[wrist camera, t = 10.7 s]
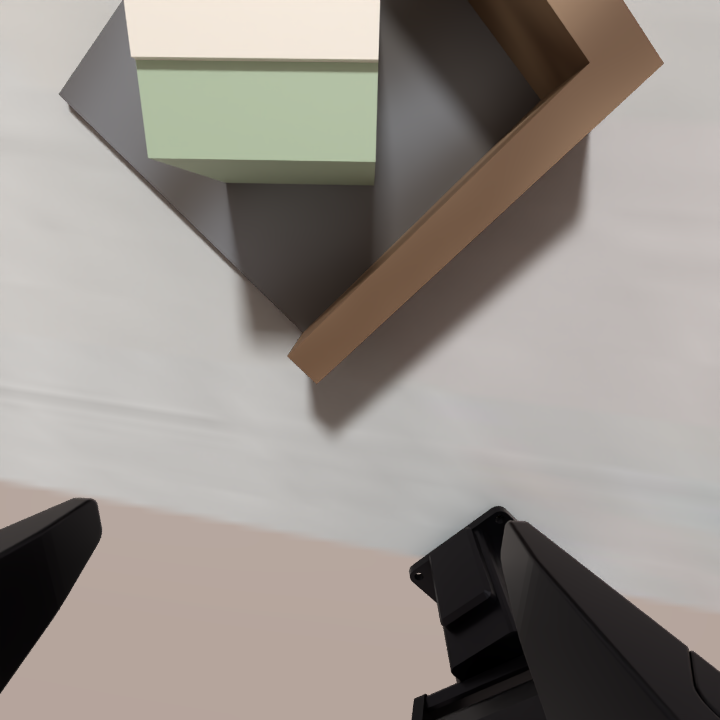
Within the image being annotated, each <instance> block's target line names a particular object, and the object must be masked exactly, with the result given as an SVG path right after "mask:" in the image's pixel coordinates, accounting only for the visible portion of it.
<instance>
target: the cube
mask: <svg viewBox="0 0 720 720" xmlns="http://www.w3.org/2000/svg"><path fill="white" fill-rule="evenodd" d="M124 7H125V14H126V22H127V30H128V37H129V45H130V53H131V57H132V58H134V59H135V60H136V67H137V75H138V83H139V91H140V99H141V107H142V114H143V122H144V130H145V138H146V146H147V154H148V158H149V159H152V160H156V161H159V162H162V163H165V164H168V165H171V166H174V167H178V168H181V169H184V170H187V171H190V172H193V173H196V174H200V175H203V176H206V177H209V178H212V179H215V180H218V181H222V182H225V183H265V184H321V185H374V179H375V162H376V126H377V90H378V56H379V20H380V0H124Z"/></svg>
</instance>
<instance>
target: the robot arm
mask: <svg viewBox="0 0 720 720" xmlns="http://www.w3.org/2000/svg"><path fill="white" fill-rule="evenodd" d="M499 515H502V516H501V517H500V518H496V517H497V516H499ZM101 535H102V526H101V522H100V515H99V510H98V505H97V502H96V501H95V500H94V499H91V498H73V499H70V500H68V501H66V502H64V503H61V504H59V505H56V506H54V507H52V508H49V509H47V510H45V511H42V512H40V513H38V514H35V515H33V516H31V517H28V518H26V519H24V520H21V521H19V522H17V523H15V524H12V525H10V526H7V527H5V528H3V529H0V693H1V692H2V691H3V689H4V687H5V686H6V685H7V683H8V682H9V681H10V679H11V678H12V676H13V675H14V674H15V672H16V671H17V669H18V668H19V666H20V665H21V664H22V662H23V661H24V659H25V658H26V657H27V655H28V654H29V652H30V651H31V649H32V648H33V647H34V645H35V644H36V642H37V641H38V639H39V638H40V637H41V635H42V634H43V632H44V631H45V629H46V628H47V627H48V625H49V624H50V622H51V621H52V619H53V618H54V616H55V615H56V613H57V612H58V610H59V609H60V607H61V606H62V604H63V602H64V601H65V599H66V598H67V596H68V594H69V593H70V591H71V589H72V587H73V586H74V584H75V582H76V581H77V579H78V577H79V575H80V574H81V572H82V570H83V568H84V567H85V565H86V563H87V562H88V560H89V558H90V557H91V555H92V553H93V551H94V550H95V548H96V546H97V545H98V543H99V541H100V538H101ZM409 573H410V579H411V581H412V582H413V583H415V584H416V585H417V586H418V587H419V588H420V589H422V590H423V591H424V592H425V593H426V594H427V595H428V596H430V597H431V598H432V599H433V600H434V601H435V602H436V603H437V605H438V611H439V617H440V622H441V625H442V626H443V629H444V635H445V640H446V646H447V651H448V657H449V662H450V668H451V673H452V674H453V675H454V676H455V677H456V681H457V683H456V684H454V685H451V686H449V687H447V688H445V689H442V690H440V691H438V692H435V693H433V694H431V695H427V694H424V695H422V696H420V697H417V698H415V699H414V704H413V713H412V720H720V671H718V670H717V669H716V668H714V667H713V666H712V665H711V664H709V663H708V662H707V661H705V660H704V659H703V658H702V657H700V656H699V655H698V654H696V653H695V652H694V651H690V652H689V649H688V647H687V646H686V645H685V644H683V643H682V642H681V641H679V640H678V639H677V638H676V637H674V636H673V635H672V634H670V633H669V632H668V631H667V630H665V629H664V628H663V627H662V626H660V625H659V624H658V623H657V622H655V621H654V620H653V619H651V618H650V617H649V616H648V615H646V614H645V613H644V612H642V611H641V610H640V609H639V608H637V607H636V606H635V605H633V604H632V603H631V602H630V601H628V600H627V599H626V598H624V597H623V596H622V595H621V594H619V593H618V592H617V591H615V590H614V589H613V588H612V587H610V586H609V585H608V584H606V583H605V582H604V581H603V580H601V579H600V578H599V577H597V576H596V575H595V574H594V573H592V572H591V571H590V570H588V569H587V568H586V567H585V566H583V565H582V564H581V563H579V562H578V561H577V560H576V559H574V558H573V557H572V556H571V555H569V554H568V553H567V552H565V551H564V550H563V549H562V548H560V547H559V546H558V545H556V544H555V543H554V542H553V541H551V540H550V539H549V538H547V537H546V536H545V535H544V534H542V533H541V532H540V531H538V530H537V529H536V528H535V527H533V526H532V525H531V524H529V523H528V522H526V521H517V520H516V519H515V518H514V517H513V516H512V515H511V514H510V513H509V512H508V511H507V510H506V509H505V508H504V507H501V506H496V507H493V508H491V509H490V510H489V511H487V512H486V513H484V514H483V515H482V516H480V517H479V518H477V519H476V520H475V521H473V522H472V523H471V524H469V525H468V526H466V527H465V528H464V529H462V530H461V531H459V532H458V533H457V534H455V535H454V536H452V537H451V538H450V539H448V540H447V541H445V542H444V543H443V544H441V545H440V546H439V547H437V548H436V549H434V550H433V551H432V552H430V553H429V554H427V555H426V556H425V557H423V558H422V559H420V560H419V561H418V562H416V563H415V564H414V565H413V566H411V567H410V570H409ZM417 573H421V574H417Z"/></svg>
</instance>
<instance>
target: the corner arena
mask: <svg viewBox="0 0 720 720" xmlns="http://www.w3.org/2000/svg"><path fill="white" fill-rule="evenodd" d="M663 64H664V63H663V61H662V60H661V58H660V57H659V55H658V53H657V52H656V50H655V49H654V47H653V46H652V44H651V43H650V41H649V40H648V38H647V36H646V35H645V33H644V32H643V30H642V29H641V27H640V26H639V24H638V23H637V21H636V19H635V18H634V16H633V15H632V13H631V12H630V10H629V9H628V7H627V6H626V4H625V3H624V1H623V0H380V20H379V56H378V90H377V126H376V162H375V179H374V185H321V184H265V183H225V182H222V181H218V180H215V179H212V178H209V177H206V176H203V175H200V174H196V173H193V172H190V171H187V170H184V169H181V168H178V167H174V166H171V165H168V164H165V163H162V162H159V161H156V160H152V159H149V158H148V154H147V146H146V138H145V130H144V122H143V114H142V107H141V99H140V91H139V83H138V75H137V67H136V60H135V59H134V58H132V57H131V53H130V45H129V37H128V30H127V22H126V14H125V7H124V0H122V2H121V3H120V5H119V6H118V8H117V9H116V11H115V12H114V14H113V15H112V17H111V18H110V20H109V21H108V22H107V24H106V25H105V27H104V28H103V30H102V31H101V33H100V34H99V36H98V37H97V39H96V40H95V42H94V43H93V45H92V46H91V48H90V49H89V50H88V52H87V53H86V55H85V56H84V58H83V59H82V61H81V62H80V64H79V65H78V67H77V68H76V70H75V71H74V73H73V74H72V75H71V77H70V78H69V80H68V81H67V83H66V84H65V86H64V87H63V89H62V90H61V92H60V93H59V95H60V96H61V97H62V98H63V99H64V100H65V101H66V102H67V103H68V104H69V105H70V106H71V107H72V108H73V109H74V110H75V111H76V112H77V113H78V114H79V115H80V116H81V117H82V118H83V119H84V120H86V121H87V122H88V123H89V124H90V125H91V126H92V127H93V128H94V129H95V130H96V131H97V132H98V133H99V134H100V135H101V136H102V137H103V138H104V139H105V140H106V141H107V142H108V143H109V144H110V145H111V146H112V147H113V148H114V149H115V150H116V151H117V152H118V153H119V154H120V155H121V156H122V157H123V158H125V159H126V160H127V161H128V162H129V163H130V164H131V165H132V166H133V167H134V168H135V169H136V170H137V171H138V172H139V173H140V174H141V175H142V176H143V177H144V178H145V179H146V180H147V181H148V182H149V183H150V184H151V185H152V186H153V187H154V188H155V189H156V190H157V191H158V192H159V193H160V194H161V195H162V196H164V197H165V198H166V199H167V200H168V201H169V202H170V203H171V204H172V205H173V206H174V207H175V208H176V209H177V210H178V211H179V212H180V213H181V214H182V215H183V216H184V217H185V218H186V219H187V220H188V221H189V222H190V223H191V224H192V225H193V226H194V227H195V228H196V229H197V230H198V231H199V232H200V233H201V234H203V235H204V236H205V237H206V238H207V239H208V240H209V241H210V242H211V243H212V244H213V245H214V246H215V247H216V248H217V249H218V250H219V251H220V252H221V253H222V254H223V255H224V256H225V257H226V258H227V259H228V260H229V261H230V262H231V263H232V264H233V265H234V266H235V267H236V268H237V269H238V270H239V271H240V272H242V273H243V274H244V275H245V276H246V277H247V278H248V279H249V280H250V281H251V282H252V283H253V284H254V285H255V286H256V287H257V288H258V289H259V290H260V291H261V292H262V293H263V294H264V295H265V296H266V297H267V298H268V299H269V300H270V301H271V302H272V303H273V304H274V305H275V306H276V307H277V308H278V309H279V310H281V311H282V312H283V313H284V314H285V315H286V316H287V317H288V318H289V319H290V320H291V321H292V322H293V323H294V324H295V325H296V326H297V327H298V328H299V329H300V330H301V331H302V332H303V333H302V335H301V336H300V338H299V339H298V341H297V342H296V344H295V345H294V347H293V348H292V350H291V351H290V353H289V354H288V356H287V357H289V358H290V359H291V360H292V361H293V362H294V363H295V364H296V365H297V366H298V367H299V368H300V369H301V370H302V371H303V372H304V373H305V374H306V375H308V376H309V377H310V378H311V379H312V380H313V381H314V382H315V383H316V384H317V383H319V382H320V381H321V380H322V379H323V378H324V377H325V376H326V375H327V374H328V373H329V372H330V371H331V370H333V369H334V368H335V367H336V366H337V365H338V364H339V363H340V362H341V361H342V360H343V359H344V358H346V357H347V356H348V355H349V354H350V353H351V352H352V351H353V350H354V349H355V348H356V347H357V346H359V345H360V344H361V343H362V342H363V341H364V340H365V339H366V338H367V337H368V336H369V335H370V334H372V333H373V332H374V331H375V330H376V329H377V328H378V327H379V326H380V325H381V324H382V323H383V322H385V321H386V320H387V319H388V318H389V317H390V316H391V315H392V314H393V313H394V312H395V311H396V310H398V309H399V308H400V307H401V306H402V305H403V304H404V303H405V302H406V301H407V300H408V299H409V298H411V297H412V296H413V295H414V294H415V293H416V292H417V291H418V290H419V289H420V288H421V287H422V286H424V285H425V284H426V283H427V282H428V281H429V280H430V279H431V278H432V277H433V276H434V275H435V274H436V273H438V272H439V271H440V270H441V269H442V268H443V267H444V266H445V265H446V264H447V263H448V262H449V261H451V260H452V259H453V258H454V257H455V256H456V255H457V254H458V253H459V252H460V251H461V250H462V249H464V248H465V247H466V246H467V245H468V244H469V243H470V242H471V241H472V240H473V239H474V238H475V237H477V236H478V235H479V234H480V233H481V232H482V231H483V230H484V229H485V228H486V227H487V226H488V225H490V224H491V223H492V222H493V221H494V220H495V219H496V218H497V217H498V216H499V215H500V214H501V213H503V212H504V211H505V210H506V209H507V208H508V207H509V206H510V205H511V204H512V203H513V202H514V201H516V200H517V199H518V198H519V197H520V196H521V195H522V194H523V193H524V192H525V191H526V190H527V189H528V188H530V187H531V186H532V185H533V184H534V183H535V182H536V181H537V180H538V179H539V178H540V177H541V176H543V175H544V174H545V173H546V172H547V171H548V170H549V169H550V168H551V167H552V166H553V165H554V164H556V163H557V162H558V161H559V160H560V159H561V158H562V157H563V156H564V155H565V154H566V153H567V152H569V151H570V150H571V149H572V148H573V147H574V146H575V145H576V144H577V143H578V142H579V141H580V140H582V139H583V138H584V137H585V136H586V135H587V134H588V133H589V132H590V131H591V130H592V129H593V128H595V127H596V126H597V125H598V124H599V123H600V122H601V121H602V120H603V119H604V118H605V117H606V116H608V115H609V114H610V113H611V112H612V111H613V110H614V109H615V108H616V107H617V106H618V105H619V104H621V103H622V102H623V101H624V100H625V99H626V98H627V97H628V96H629V95H630V94H631V93H632V92H633V91H635V90H636V89H637V88H638V87H639V86H640V85H641V84H642V83H643V82H644V81H645V80H646V79H648V78H649V77H650V76H651V75H652V74H653V73H654V72H655V71H656V70H657V69H658V68H659V67H661V66H662V65H663Z"/></svg>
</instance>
